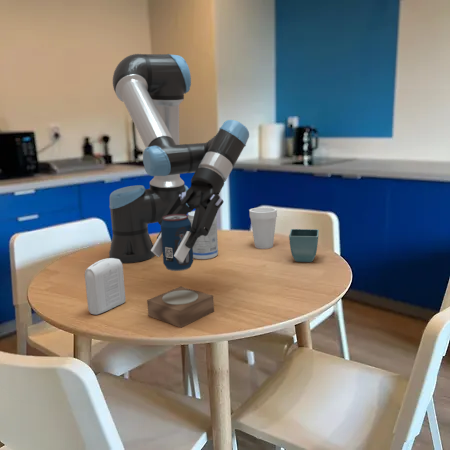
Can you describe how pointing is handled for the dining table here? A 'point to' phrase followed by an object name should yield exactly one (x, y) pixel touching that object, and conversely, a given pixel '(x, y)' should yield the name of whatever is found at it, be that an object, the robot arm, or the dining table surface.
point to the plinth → (180, 306)
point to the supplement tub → (205, 241)
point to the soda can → (175, 241)
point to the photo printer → (104, 285)
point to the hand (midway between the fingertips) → (166, 256)
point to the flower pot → (303, 244)
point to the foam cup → (263, 226)
